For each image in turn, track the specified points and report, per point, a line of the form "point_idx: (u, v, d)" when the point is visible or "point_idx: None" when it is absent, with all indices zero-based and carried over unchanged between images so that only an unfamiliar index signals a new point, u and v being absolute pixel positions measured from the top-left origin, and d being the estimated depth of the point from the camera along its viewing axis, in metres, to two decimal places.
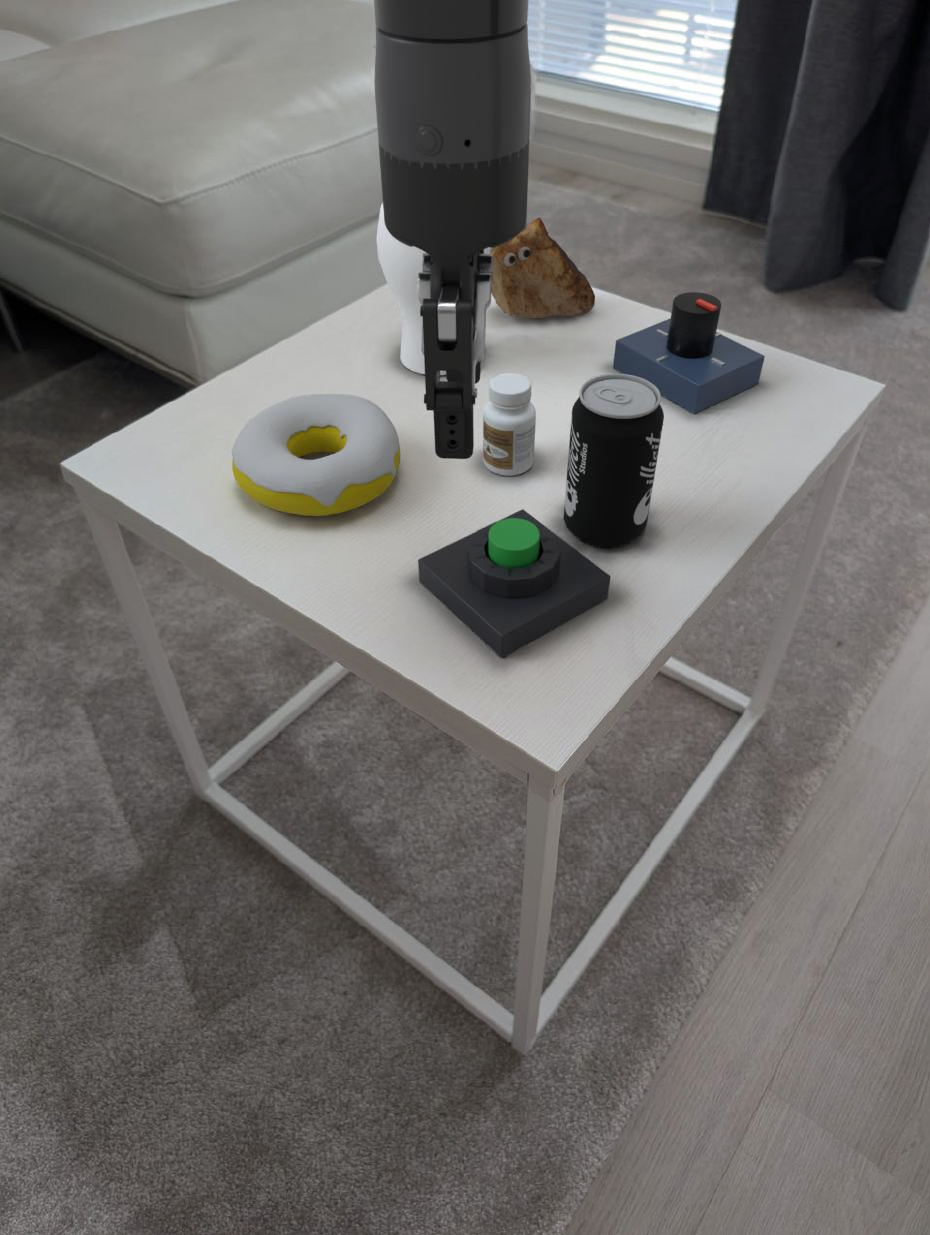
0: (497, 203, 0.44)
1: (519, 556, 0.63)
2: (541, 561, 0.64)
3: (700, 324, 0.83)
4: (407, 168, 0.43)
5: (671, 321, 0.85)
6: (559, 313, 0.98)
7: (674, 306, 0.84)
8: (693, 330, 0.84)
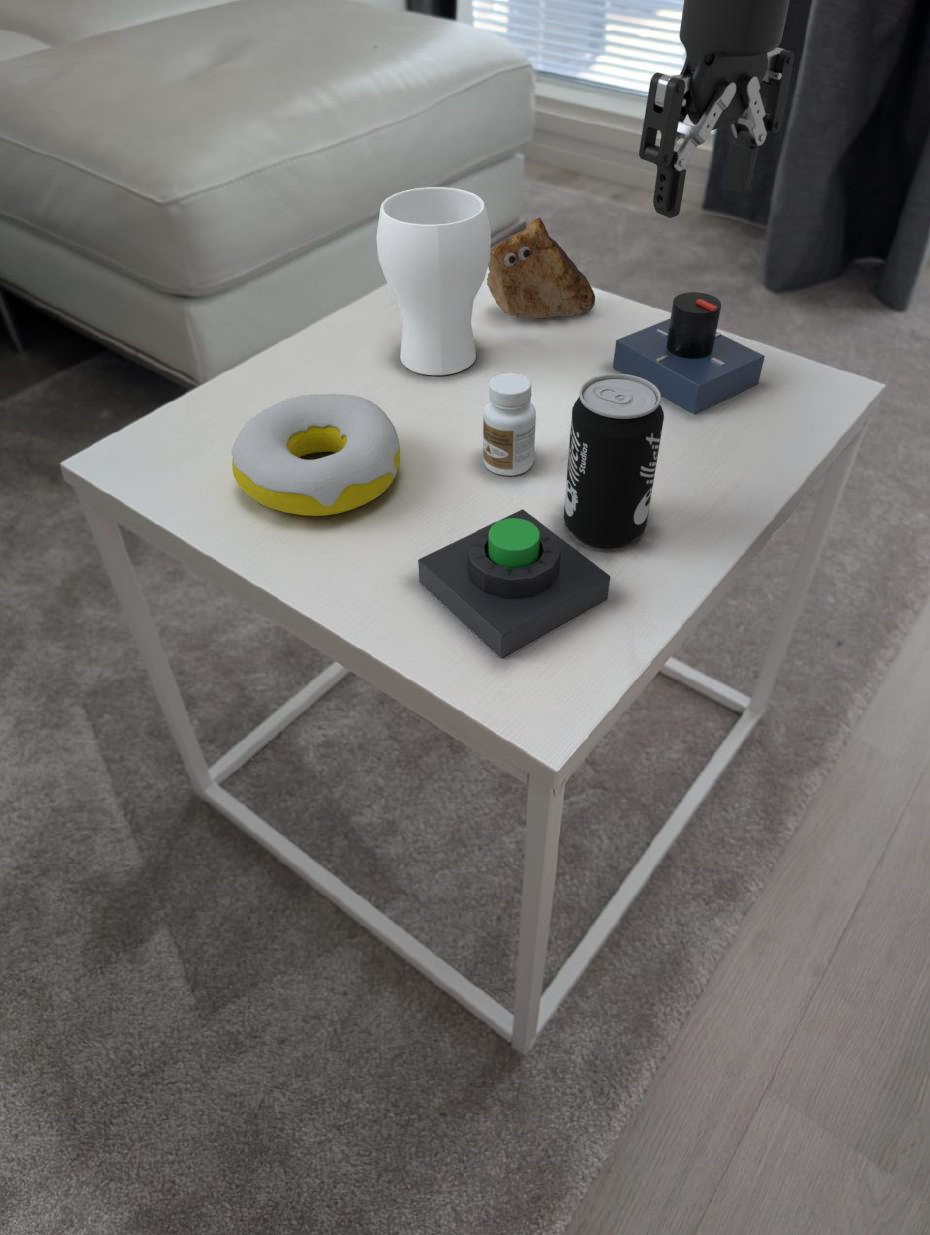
0: (731, 20, 0.64)
1: (519, 556, 0.63)
2: (541, 561, 0.64)
3: (700, 324, 0.83)
4: None
5: (671, 321, 0.85)
6: (559, 313, 0.98)
7: (674, 306, 0.84)
8: (693, 330, 0.84)
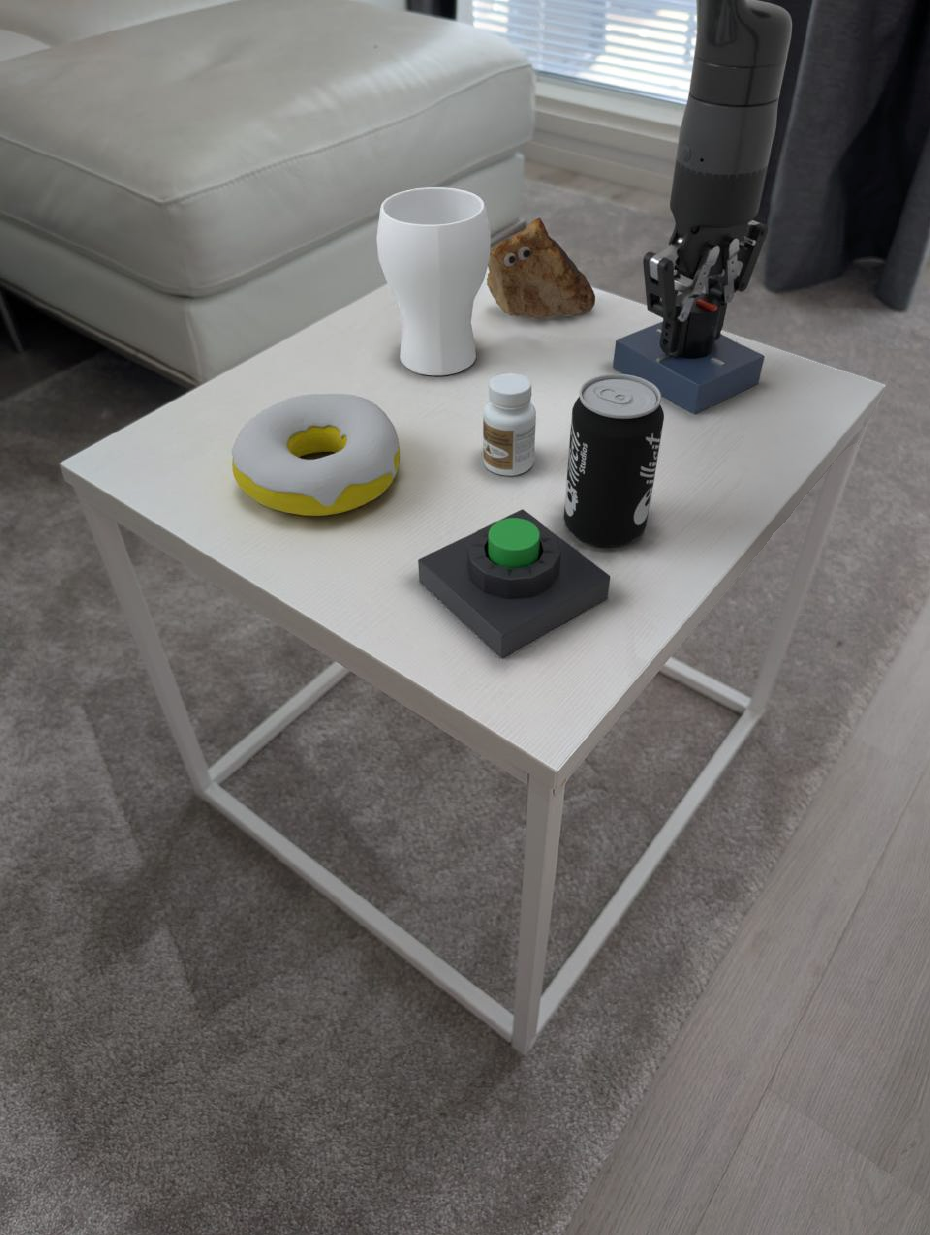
0: (714, 200, 0.74)
1: (519, 556, 0.63)
2: (541, 561, 0.64)
3: (700, 324, 0.83)
4: (677, 165, 0.76)
5: None
6: (559, 313, 0.98)
7: None
8: (693, 330, 0.84)
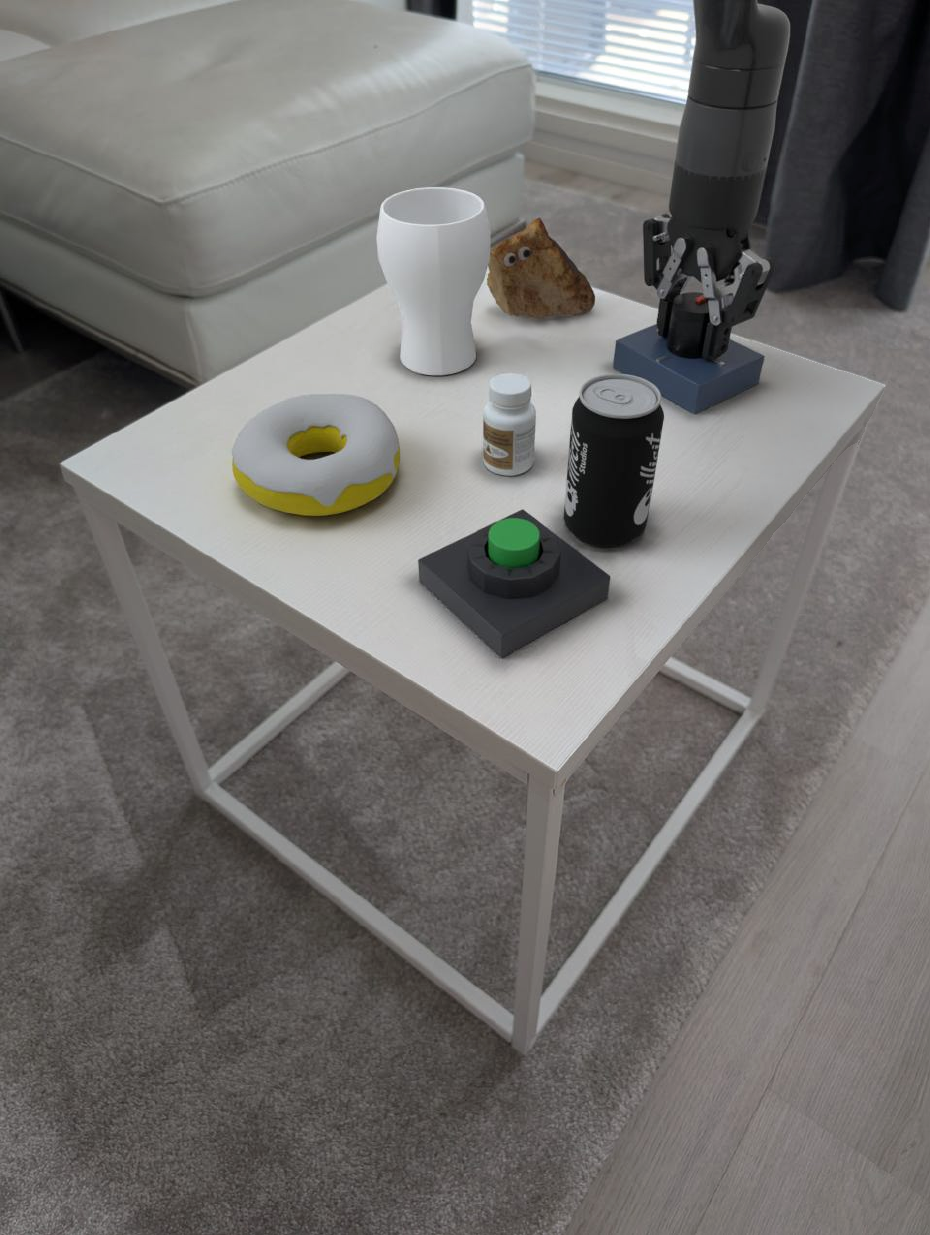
0: (761, 190, 0.76)
1: (519, 556, 0.63)
2: (541, 561, 0.64)
3: None
4: (732, 182, 0.73)
5: (702, 330, 0.84)
6: (559, 313, 0.98)
7: (707, 314, 0.83)
8: None
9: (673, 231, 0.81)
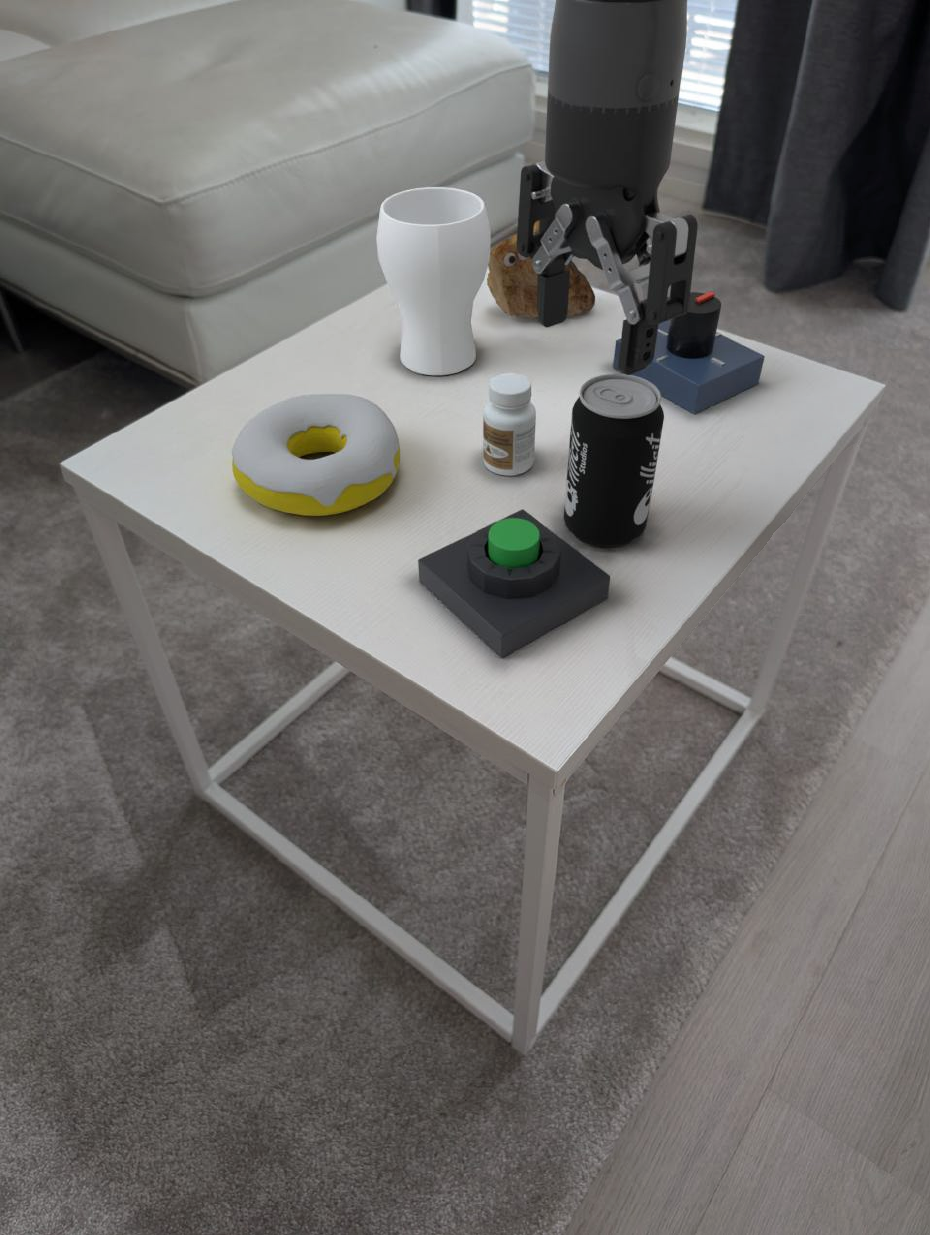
0: (673, 133, 0.53)
1: (519, 556, 0.63)
2: (541, 561, 0.64)
3: None
4: (623, 116, 0.50)
5: (702, 330, 0.84)
6: None
7: (707, 314, 0.83)
8: None
9: (557, 195, 0.58)
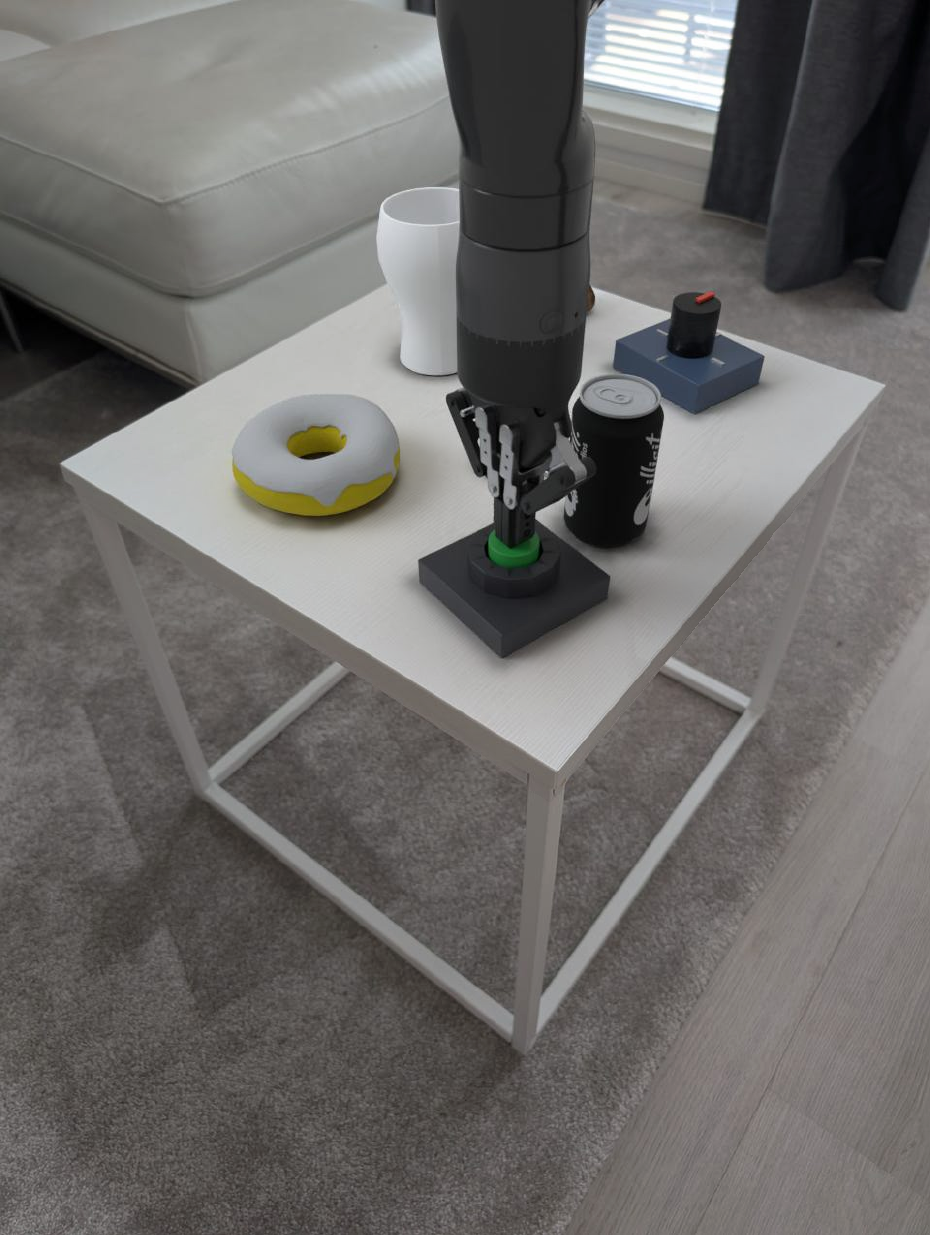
0: (582, 351, 0.53)
1: (519, 562, 0.63)
2: (541, 561, 0.64)
3: None
4: (528, 348, 0.50)
5: (702, 330, 0.84)
6: None
7: (707, 314, 0.83)
8: None
9: None
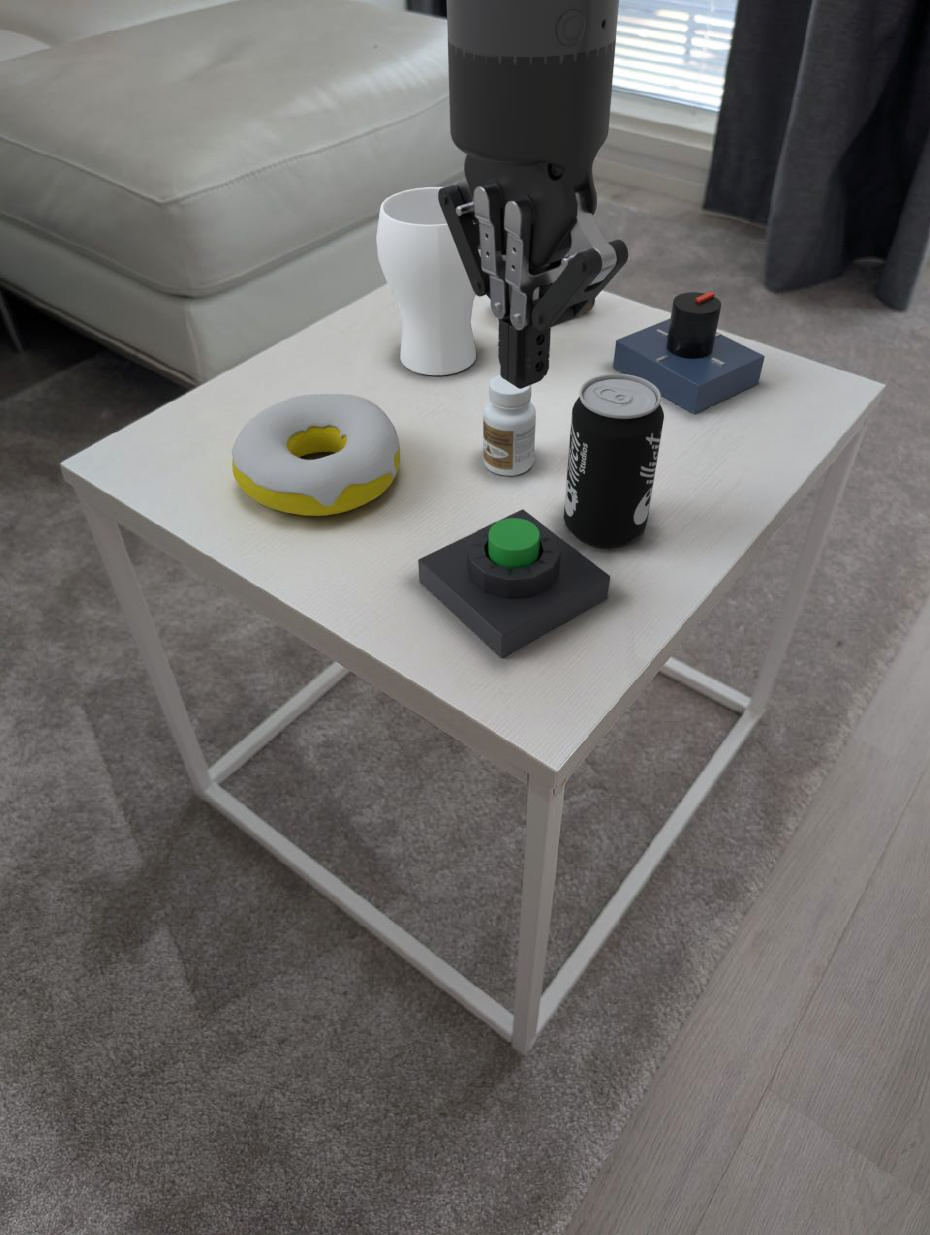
0: (610, 92, 0.41)
1: (519, 556, 0.63)
2: (541, 561, 0.64)
3: None
4: (541, 68, 0.38)
5: (702, 330, 0.84)
6: None
7: (707, 314, 0.83)
8: None
9: (473, 176, 0.46)
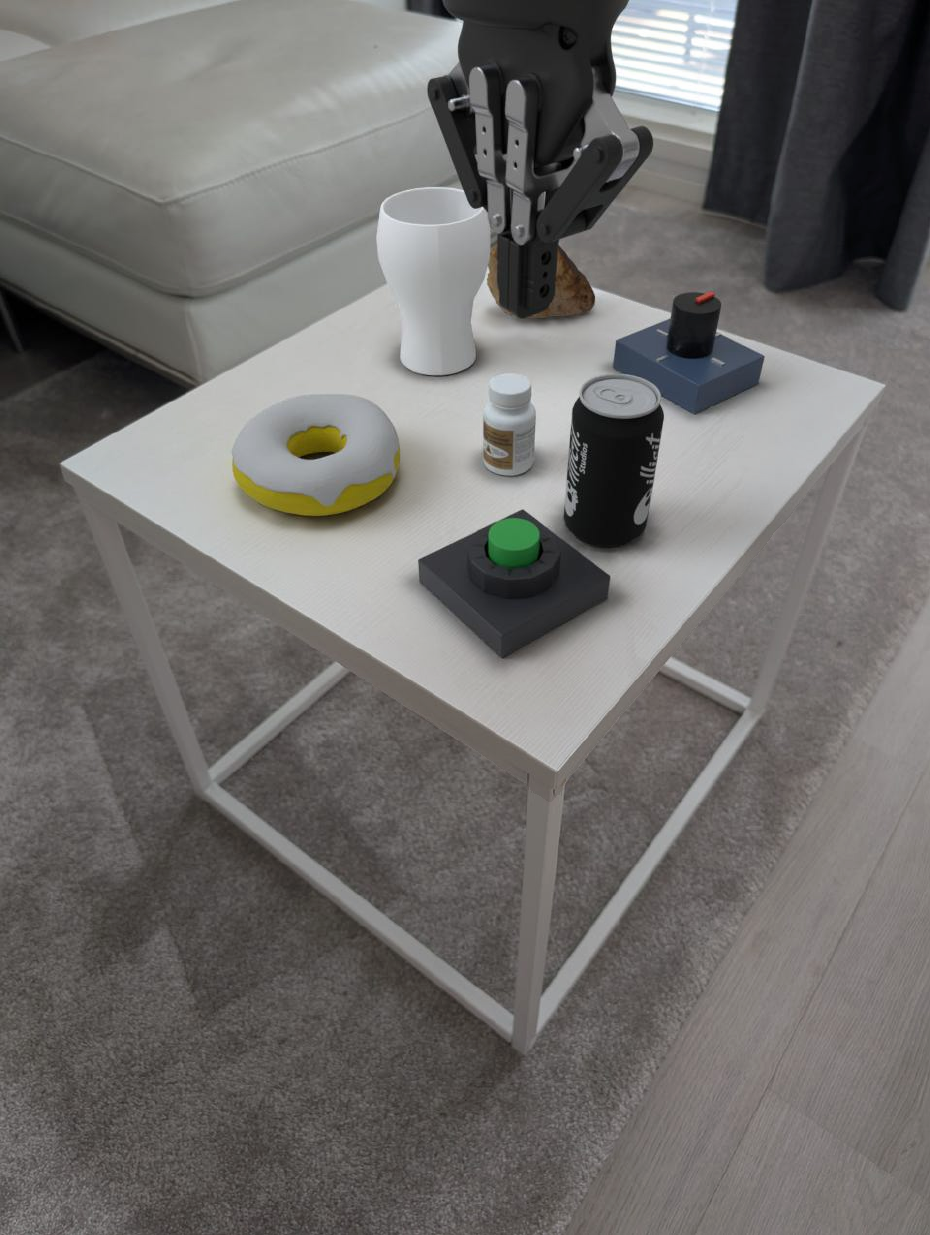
0: None
1: (519, 556, 0.63)
2: (541, 561, 0.64)
3: None
4: None
5: (702, 330, 0.84)
6: (559, 313, 0.98)
7: (707, 314, 0.83)
8: None
9: (469, 59, 0.39)
